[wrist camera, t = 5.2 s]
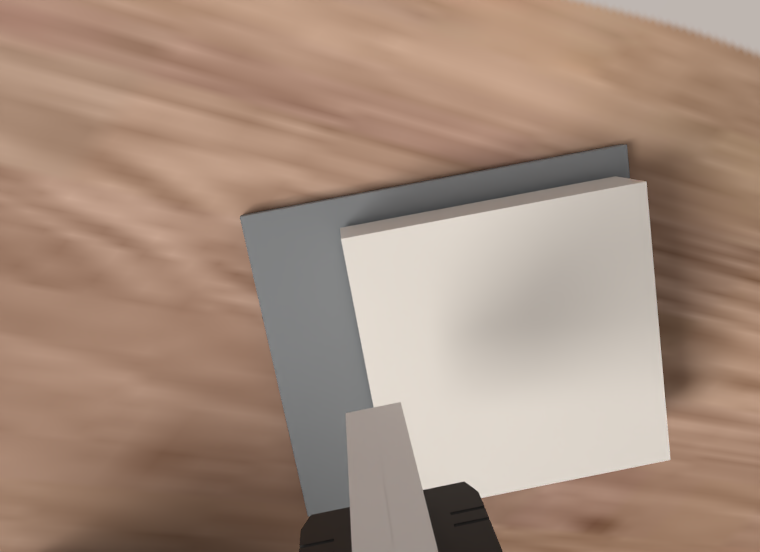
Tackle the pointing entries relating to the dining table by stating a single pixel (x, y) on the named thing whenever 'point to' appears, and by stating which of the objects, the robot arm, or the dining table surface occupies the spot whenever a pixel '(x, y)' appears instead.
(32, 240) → the dining table surface
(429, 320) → the tile
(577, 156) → the mat
